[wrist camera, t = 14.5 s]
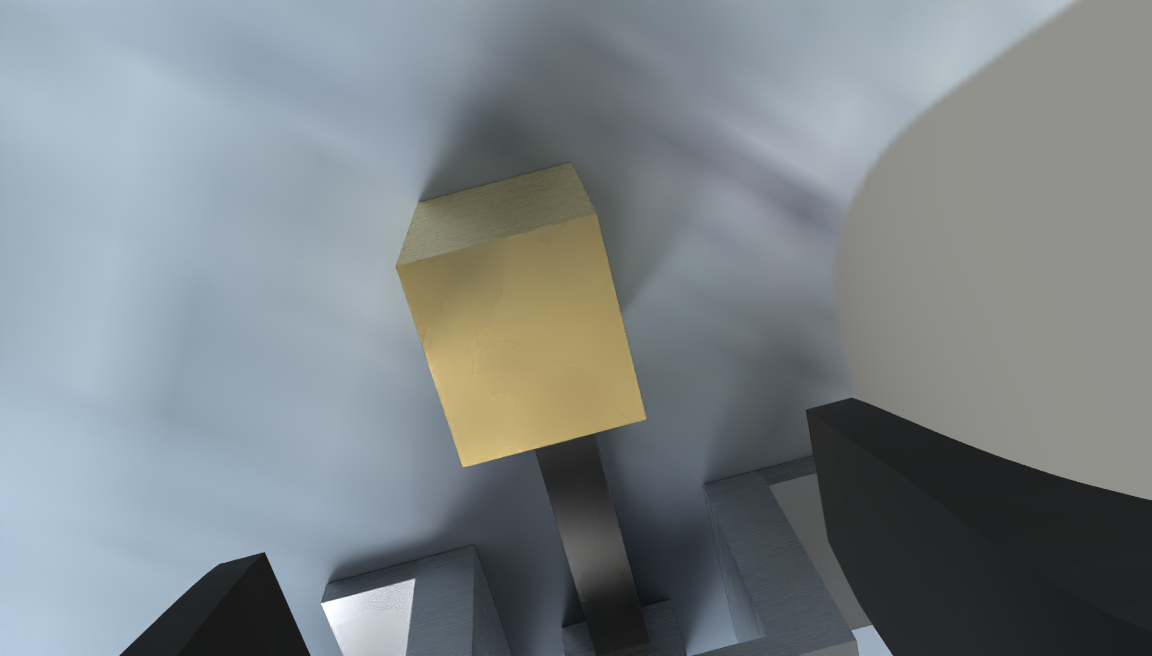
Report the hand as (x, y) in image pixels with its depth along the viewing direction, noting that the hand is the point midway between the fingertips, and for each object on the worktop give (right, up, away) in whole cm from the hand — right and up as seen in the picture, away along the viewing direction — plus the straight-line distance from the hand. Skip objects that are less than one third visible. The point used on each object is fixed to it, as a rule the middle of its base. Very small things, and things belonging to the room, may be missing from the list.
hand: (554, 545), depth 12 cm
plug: (0, 0, +11) cm, 11 cm away
